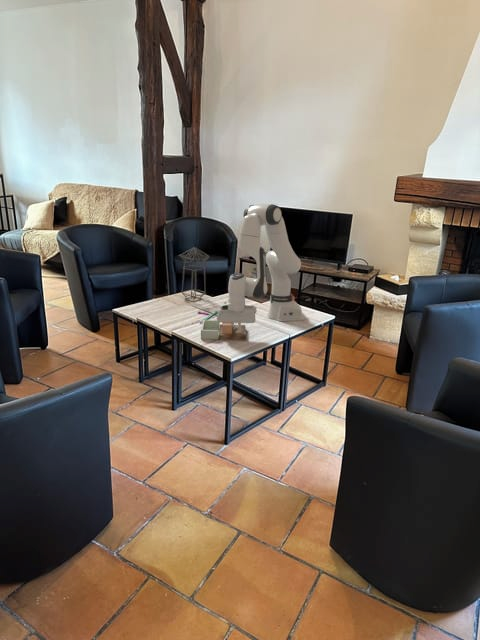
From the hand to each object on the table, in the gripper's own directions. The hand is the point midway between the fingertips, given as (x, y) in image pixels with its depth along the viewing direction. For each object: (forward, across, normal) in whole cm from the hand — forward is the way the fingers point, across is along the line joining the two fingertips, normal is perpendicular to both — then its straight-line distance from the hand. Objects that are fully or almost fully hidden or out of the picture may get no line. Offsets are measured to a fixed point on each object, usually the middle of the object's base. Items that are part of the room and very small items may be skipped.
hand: (235, 330), depth 232 cm
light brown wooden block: (+1, +5, -6) cm, 8 cm away
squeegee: (+5, +19, -34) cm, 39 cm away
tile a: (+1, +4, 0) cm, 5 cm away
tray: (+4, +14, -3) cm, 14 cm away
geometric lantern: (+4, +27, -64) cm, 70 cm away
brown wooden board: (+4, +2, -3) cm, 5 cm away
